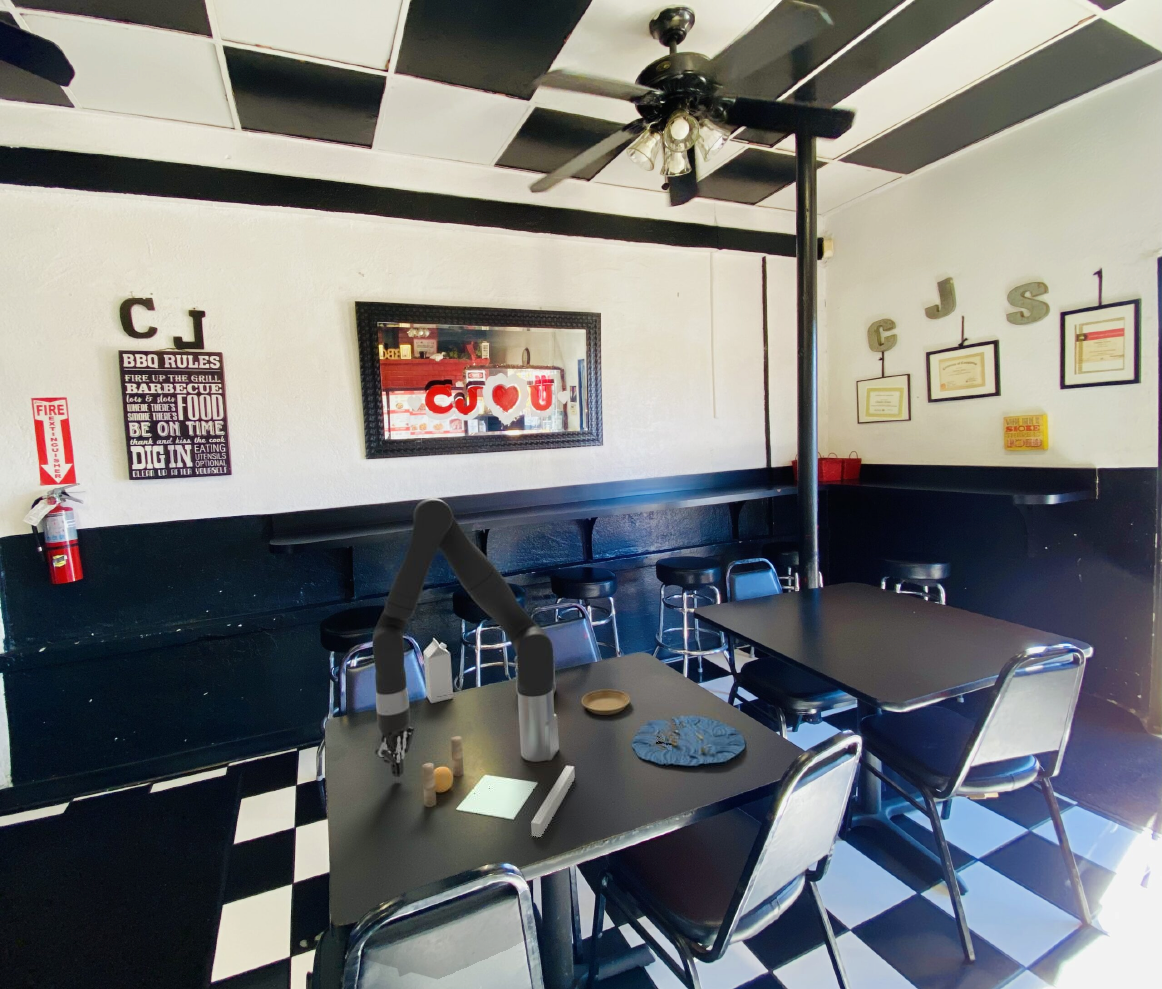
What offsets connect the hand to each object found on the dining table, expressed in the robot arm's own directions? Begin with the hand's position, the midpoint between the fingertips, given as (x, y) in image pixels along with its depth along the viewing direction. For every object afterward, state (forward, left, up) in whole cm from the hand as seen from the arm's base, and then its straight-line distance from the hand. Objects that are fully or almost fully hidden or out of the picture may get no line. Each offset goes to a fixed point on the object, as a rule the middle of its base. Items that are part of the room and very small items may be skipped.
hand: (398, 774), depth 143 cm
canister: (-14, -55, -2) cm, 57 cm away
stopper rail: (-41, 0, -2) cm, 41 cm away
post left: (-13, +6, -2) cm, 15 cm away
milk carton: (+16, -45, -2) cm, 48 cm away
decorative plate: (-66, -34, -2) cm, 74 cm away
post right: (-13, -6, -2) cm, 15 cm away
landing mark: (-27, 0, -2) cm, 27 cm away
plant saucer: (-39, -50, -2) cm, 63 cm away
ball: (-13, +1, +1) cm, 13 cm away
